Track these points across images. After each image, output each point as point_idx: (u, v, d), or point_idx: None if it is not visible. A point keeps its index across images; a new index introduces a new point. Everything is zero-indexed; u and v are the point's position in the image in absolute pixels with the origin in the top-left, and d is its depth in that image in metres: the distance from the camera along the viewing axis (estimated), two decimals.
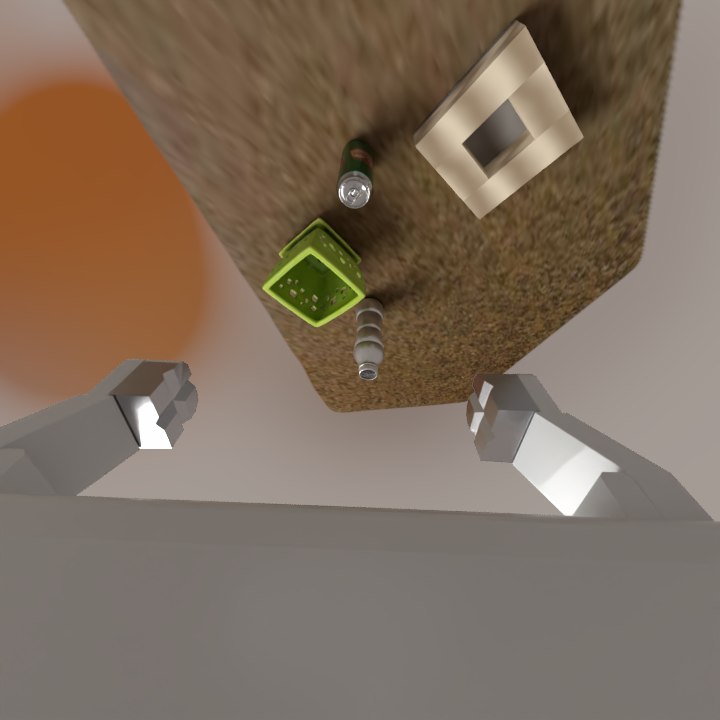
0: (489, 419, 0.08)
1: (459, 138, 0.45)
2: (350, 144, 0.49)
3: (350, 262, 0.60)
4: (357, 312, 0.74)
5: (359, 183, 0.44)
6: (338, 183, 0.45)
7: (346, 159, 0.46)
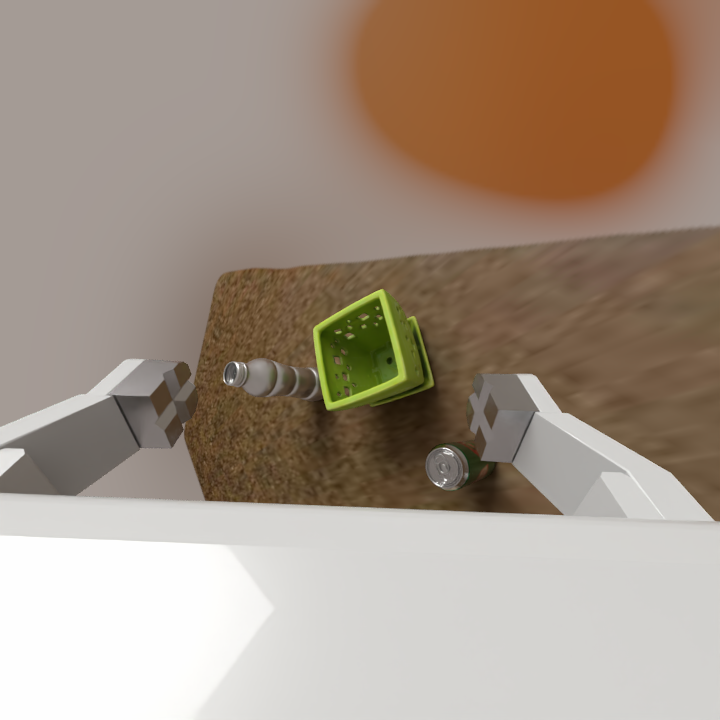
0: (489, 419, 0.08)
1: None
2: (493, 461, 0.42)
3: None
4: (317, 372, 0.60)
5: (451, 479, 0.35)
6: (461, 453, 0.36)
7: (481, 462, 0.39)
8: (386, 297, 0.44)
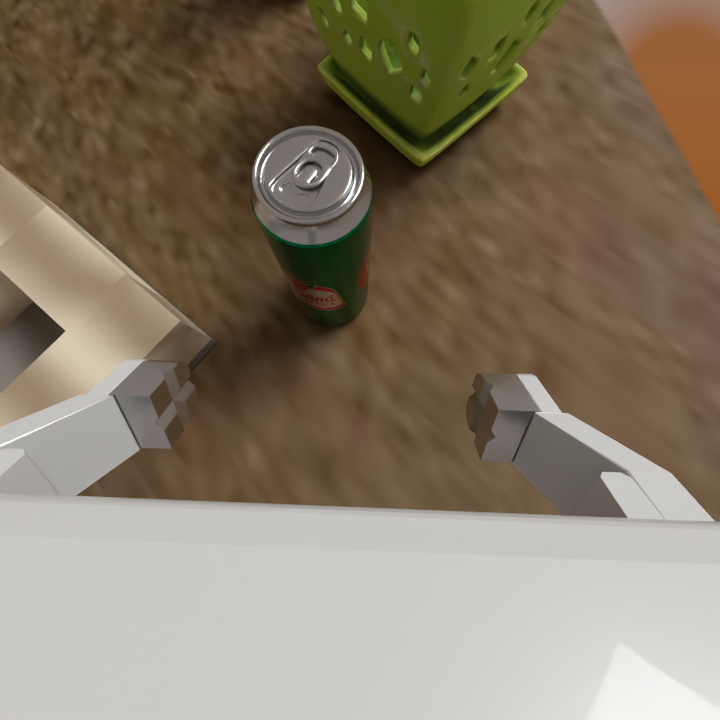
0: (489, 419, 0.08)
1: (71, 342, 0.18)
2: (348, 317, 0.22)
3: (338, 25, 0.20)
4: None
5: (290, 204, 0.12)
6: (366, 206, 0.13)
7: (349, 284, 0.17)
8: None
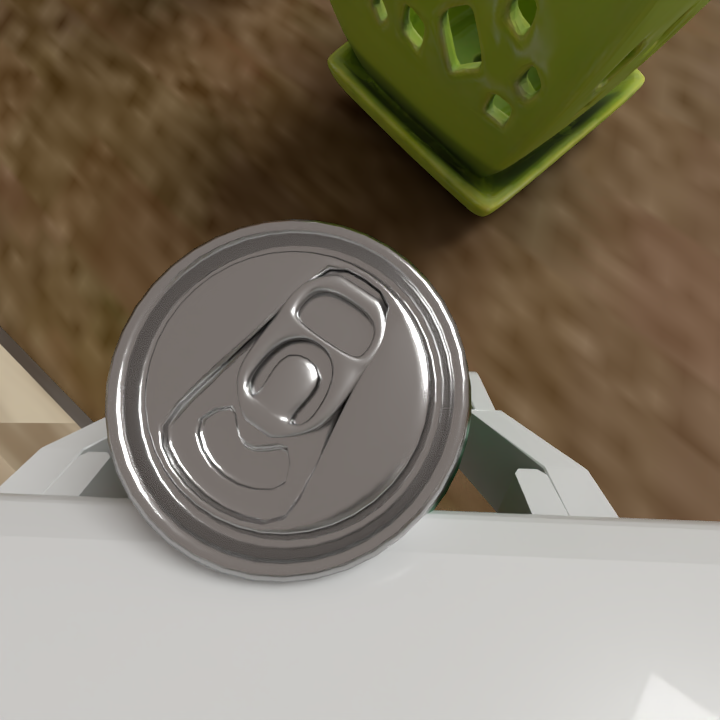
0: None
1: None
2: None
3: None
4: None
5: (225, 493, 0.04)
6: None
7: None
8: None
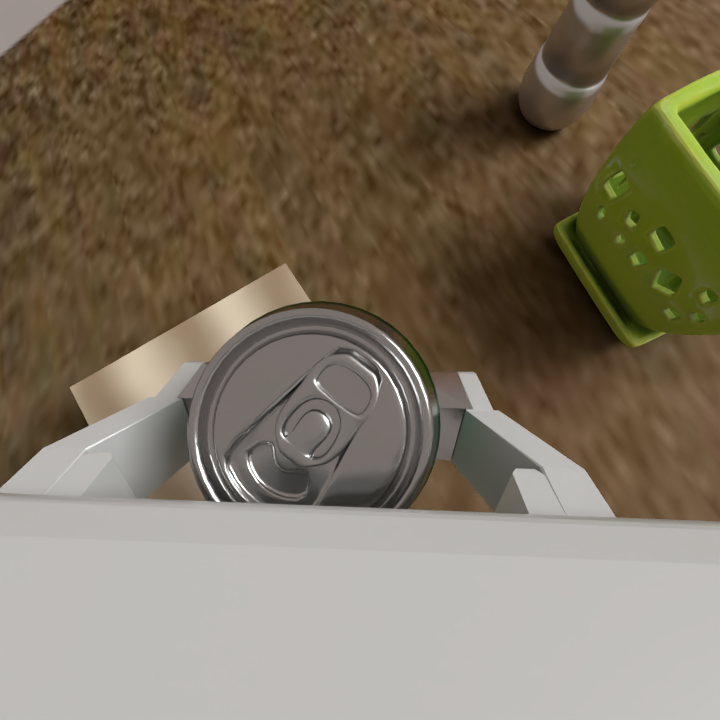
0: None
1: None
2: None
3: (617, 229, 0.22)
4: (599, 89, 0.28)
5: (267, 500, 0.06)
6: (425, 475, 0.06)
7: None
8: None
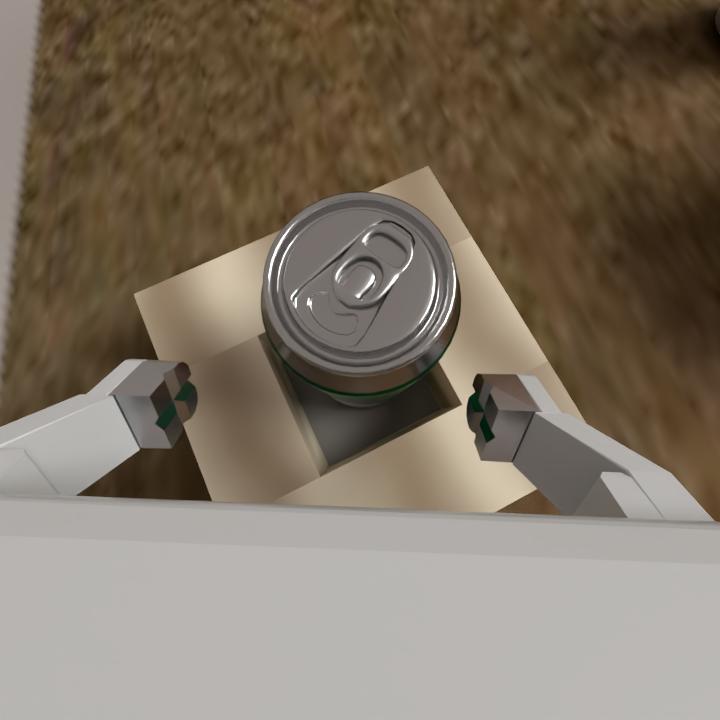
0: (489, 419, 0.08)
1: (466, 422, 0.14)
2: (382, 404, 0.17)
3: None
4: None
5: (324, 334, 0.07)
6: (450, 332, 0.08)
7: (395, 395, 0.12)
8: None
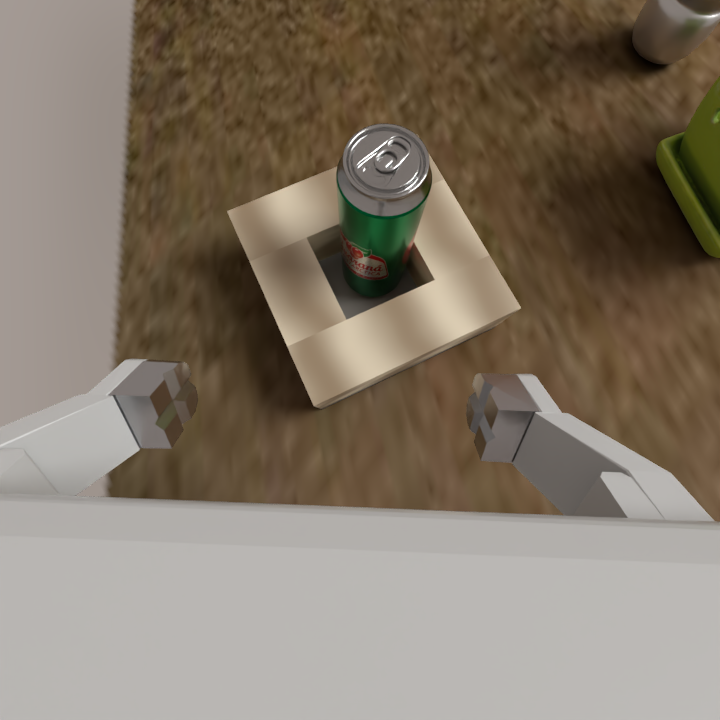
0: (489, 419, 0.08)
1: (437, 289, 0.23)
2: (385, 290, 0.26)
3: None
4: (719, 19, 0.29)
5: (370, 183, 0.16)
6: (426, 190, 0.17)
7: (397, 256, 0.21)
8: None
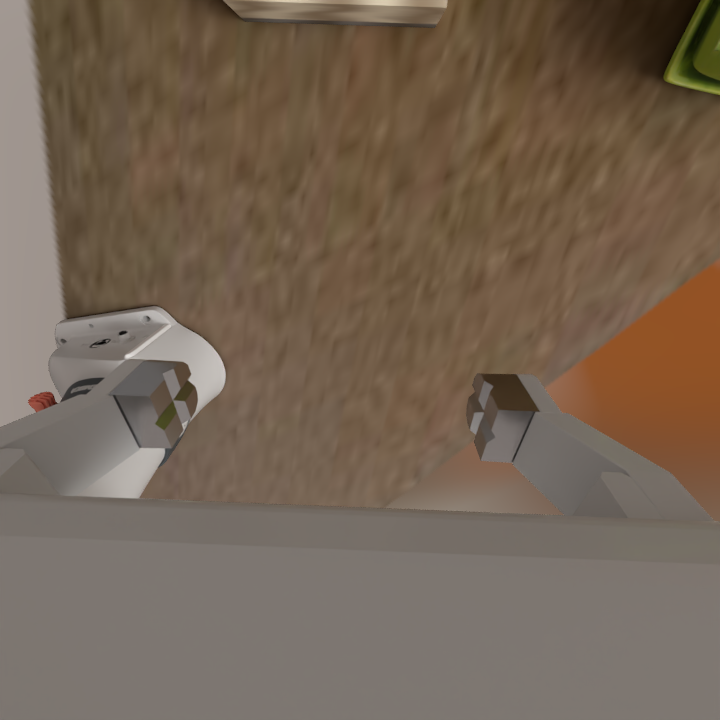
0: (489, 419, 0.08)
1: None
2: None
3: None
4: None
5: None
6: None
7: None
8: None
